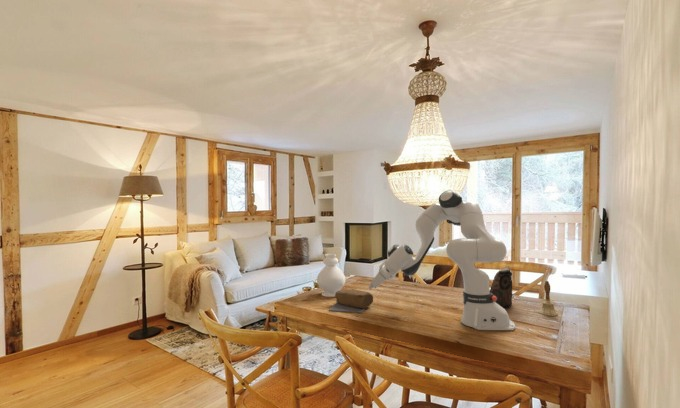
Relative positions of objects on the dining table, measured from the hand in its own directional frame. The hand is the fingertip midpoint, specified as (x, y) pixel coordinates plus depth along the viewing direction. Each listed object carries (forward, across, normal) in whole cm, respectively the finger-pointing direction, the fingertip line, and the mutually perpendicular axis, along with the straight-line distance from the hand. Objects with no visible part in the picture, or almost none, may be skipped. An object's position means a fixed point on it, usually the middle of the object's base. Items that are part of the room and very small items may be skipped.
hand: (369, 288), depth 181 cm
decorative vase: (+29, -27, -13) cm, 42 cm away
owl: (-39, -23, +56) cm, 72 cm away
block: (+6, -1, +4) cm, 7 cm away
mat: (+17, -3, 0) cm, 17 cm away
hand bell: (-53, -12, +70) cm, 89 cm away
